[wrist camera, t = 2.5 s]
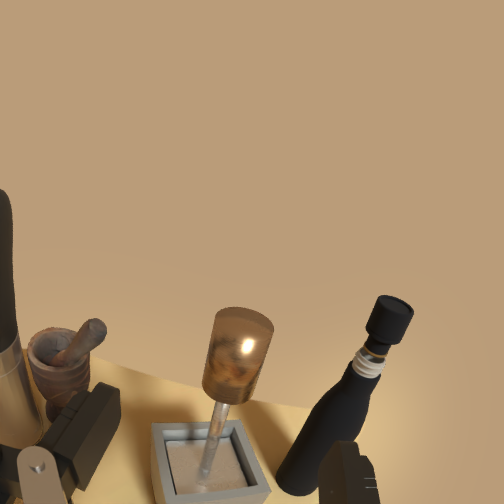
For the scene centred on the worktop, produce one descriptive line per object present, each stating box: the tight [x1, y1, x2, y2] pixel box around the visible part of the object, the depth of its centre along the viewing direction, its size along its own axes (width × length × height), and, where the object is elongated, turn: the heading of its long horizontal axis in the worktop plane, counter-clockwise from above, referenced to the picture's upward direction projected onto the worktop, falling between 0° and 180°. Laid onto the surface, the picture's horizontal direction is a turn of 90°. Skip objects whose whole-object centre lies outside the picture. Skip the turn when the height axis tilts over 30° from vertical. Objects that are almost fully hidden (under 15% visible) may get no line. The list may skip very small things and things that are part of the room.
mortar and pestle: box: [27, 318, 107, 423], centre depth 35 cm, size 12×9×20 cm
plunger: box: [165, 307, 274, 495], centre depth 24 cm, size 7×7×19 cm
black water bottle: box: [276, 295, 414, 496], centre depth 32 cm, size 6×6×30 cm
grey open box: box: [150, 419, 271, 504], centre depth 29 cm, size 10×10×12 cm
